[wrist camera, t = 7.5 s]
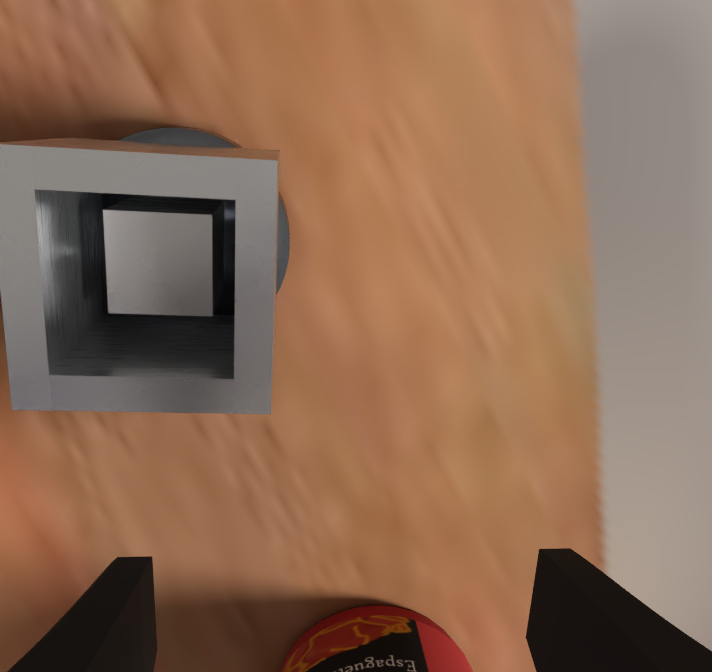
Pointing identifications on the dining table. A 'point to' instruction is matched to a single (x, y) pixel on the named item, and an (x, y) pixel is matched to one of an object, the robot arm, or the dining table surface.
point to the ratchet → (176, 244)
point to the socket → (89, 284)
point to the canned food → (375, 644)
